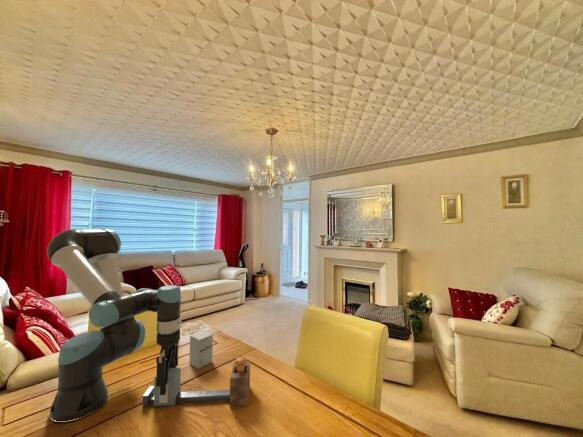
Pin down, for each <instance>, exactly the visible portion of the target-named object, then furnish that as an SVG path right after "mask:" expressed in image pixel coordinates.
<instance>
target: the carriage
mask: <svg viewBox="0 0 583 437" xmlns="http://www.w3.org/2000/svg"><path fill="white" fill-rule="evenodd" d="M181 370H182V368H181V367H176V368H169V372H168V381H167V382H169V390H168V403H159V387H156V376H157V373H155V376H154V379H153V381H154V382H153V384H154V385H153V386H154V405H153V407H162V406H165V407H167V406H175V405H176V397H177V395H178V393H179V392H181V374H182V373H181Z"/></svg>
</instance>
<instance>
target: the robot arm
mask: <svg viewBox="0 0 583 437" xmlns="http://www.w3.org/2000/svg"><path fill="white" fill-rule="evenodd" d="M121 247H122V240H121V238H120V236H119V234H118V233H117V232H116V231H114V230H112V229H108V228H107V229H106V228H105V229H104V228H95V229H93V228H91V229H89V228H88V229H85V228H84V229H83V228H81V229H77V228H76V229H67V230H64V231H60V232H59V233H57V234H56V235H55V236H53V237H52V238H51V239H50V241H49V242H48V244H47V246H46V255H47V258H48V260H49V261H50V263H52V265H53V266H55V267H57V268H60V269H61V270H62V272H64V274H65V276H66V277H67V278H68V279H69V280H70V281H71V282H72V284H73V285H74V287H75V288H76V289H77V290H78V292H79V293H80V294H81V295H82V296H83V297H84V299H85V300H86V301H87V303H88V304H89V305H90V306H91V307H89V310H88V311H89V312H88V318H89V319H90V320H89V321H90V323H91V324H92V325H93V327H96V328H99V330H90V331H88V332H86V331H85V332H82V333H79V334H77V335H75V336H73V337H71V338H69V339H68V340H66V341H65V342H63V344H62V345H61V346H60V349H59V353H58V358H57V361H58V370H57V371H58V373H57V374H58V375H57V379H58V380H57V382H58V383H57V392H56V395H55V396H54V400H53V402H52V403H51V404H52V405H51V406H50V410H49V418H50V417H51V418H52V419H53V420H56V421H68V420H73V419H77V418H80V417H83V416H85V415H87V414H89V413H91V412H93V411H95V410H96V409H98V408H99V409H101V407H103V406H104V405H105V403H106V402H107V401H106V400H108V399H109V398H108V397H109V395H108V394H109V390H108V387H107V385H106V383H105V380H104V378H103V368H104V367H105V366H107V365H109V364H111V363H114V362H115V361H118V360H119V359H121V358H124V357H126V356H128V355H131V354H133V352H136V351H137V350H139V349H140V348H141V347H142V345H143V343H144V341H145V339H146V328H145V325H144V323H143V322H142V321H141V320H138V319H136V318H135V316H138V315H140V314H143V313H144V314H145V312H152V313H156V316H157V318H156V344H157V346H160V347H161V348H160V352H159V354H160V355H159V356H157V357H156V358H155V359H156V360H155V361H156V374H157V376H156V387H159V403H168V390H169V382H167V381H168V372H169V368H177V367H178V366H179V343H180V342H179V341H180V340H181V324H182V320H181V306H182V305H181V303H182V301H181V300H182V296H181V287H180V286H178V285H168V284H167V285H163V286H161V287H159V288H158V289H152V288H147V287H146V288H145V287H144V288H143V287H142V288H140V289H137V290H136V291H134V292H133V293H130V294H127V295H125V294H124V289H123V286H122V284H121V283H122V282H121V278H120V276H119V272H118V268H117V265H116V261H115V260H116V259H117V258H118V255H119V252H120V250H121V249H122V248H121ZM99 409H98V410H99ZM96 411H97V410H96ZM96 411H95V412H96ZM93 413H94V412H93ZM91 414H92V413H91ZM83 418H84V417H83Z"/></svg>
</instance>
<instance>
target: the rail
mask: <svg viewBox="0 0 583 437" xmlns="http://www.w3.org/2000/svg"><path fill="white" fill-rule="evenodd" d="M226 401H229V402H230V388H228V389H213V390H211V389H210V390H196V391H195V390H194V391H193V390H192V391H180V392H179V393H178V395H177V397H176V404H193V403H196V404H197V403H211V402H212V403H213V402H214V403H215V402H226ZM176 404H175V405H176ZM149 406H154V385H150V386H149V387H148V388H147V390H146V391H145V392H144V394H143V395H142V408H144V409H145V408H149Z"/></svg>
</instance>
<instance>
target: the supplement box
mask: <svg viewBox="0 0 583 437" xmlns="http://www.w3.org/2000/svg"><path fill="white" fill-rule="evenodd" d="M213 336H214V334H212V333H211V332H207V331H206V330H202V331H199V332H196V333H195V334H191V335H190V336H189V365H191V366H193V367H194V368H196V369H197V370H199V369H201V368H203V367H204V366H207V365H208V364H211V363H213V347H214V346H213V344H214V343H213V339H214V338H213Z"/></svg>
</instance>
